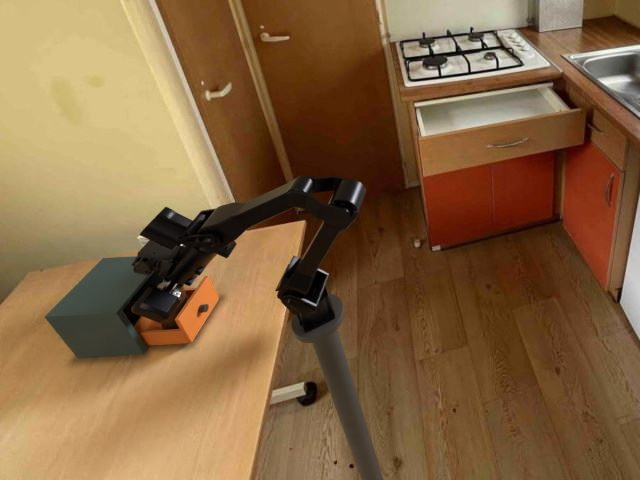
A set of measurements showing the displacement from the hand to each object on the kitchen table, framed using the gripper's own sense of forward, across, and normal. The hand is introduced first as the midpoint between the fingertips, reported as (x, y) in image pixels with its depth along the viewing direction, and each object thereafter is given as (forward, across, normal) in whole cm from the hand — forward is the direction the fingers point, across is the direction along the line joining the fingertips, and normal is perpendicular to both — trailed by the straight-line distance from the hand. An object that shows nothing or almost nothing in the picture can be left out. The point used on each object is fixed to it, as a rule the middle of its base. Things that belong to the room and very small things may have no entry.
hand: (161, 294), depth 89 cm
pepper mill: (+4, +2, +6) cm, 7 cm away
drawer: (+6, 0, +7) cm, 9 cm away
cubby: (+13, 0, 0) cm, 13 cm away
